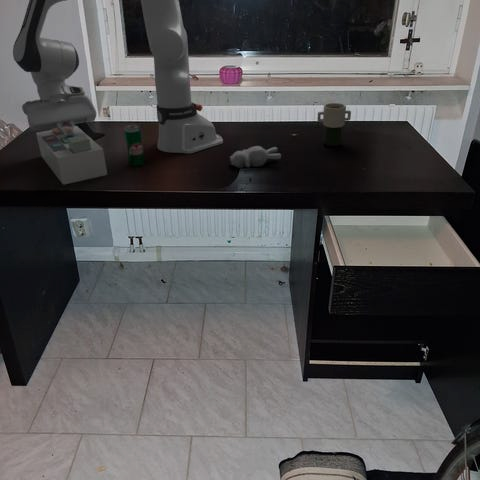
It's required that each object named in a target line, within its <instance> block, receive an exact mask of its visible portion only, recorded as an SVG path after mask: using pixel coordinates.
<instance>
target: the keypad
mask: <svg viewBox="0 0 480 480" xmlns="http://www.w3.org/2000/svg"><path fill="white" fill-rule="evenodd" d="M70 128H71V127H70ZM74 133H75V135H78V136H82V135H85V136H86V137H87V138H88V139H89V140H90V145H91V150H89V151H84V152H79V153H74V154H73V153H72V152H71V151H70V149H69V144H64V143H63V142H62V141H61V138H62V137H64V135H63V134H62V135H57V136H56V135H55V134H54V133H53V129H49V130H45V131H40V132H36V133H35V135H36V138H37V143H38V148H39V151H40V155H41V156H40V157H41V158H42V159H43V160H44V161H45V163H46V164H47V165H48V167H49V168H50V169H51V171H52V172H53V173H54V175H55V176H56V177H57V179H58V180H59V182H61V184H62V185H67V184H73V183H77V182H82V181H85V180H91V179H95V178H99V177H104V176H107V175H108V171H107V164H106V159H105V153H104V148H102V146H101V145H100V144H98V143H97V142H96V141H93V140H92V139H91V138H90V137H89V136H88V135H87V134H85V133H84V132H83V131H82V130H81V129H80V128H79V127H77V126H74Z"/></svg>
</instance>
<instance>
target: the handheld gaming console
mask: <svg viewBox="0 0 480 480" xmlns="http://www.w3.org/2000/svg"><path fill="white" fill-rule="evenodd" d="M66 126H69V125H66ZM74 126H77V127H79V128H80V129H81V130H82V131H83V132H84V133H85V134H87V135H88V136H89V137H90V138H91V139H92V140H93V141H94V142H96V141H97V140H99V139H101V138H103V137H104V136H105V135H106V134H105V133H102V132H96V131H95V132H94V131H93V130H92V128H91V127H90V126H89V124H88V122H83V123H78V124H75V125H74ZM63 127H65V126H63Z"/></svg>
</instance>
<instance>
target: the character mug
mask: <svg viewBox="0 0 480 480" xmlns="http://www.w3.org/2000/svg"><path fill="white" fill-rule="evenodd" d="M346 114H347V117H346ZM351 115H352V111H351V110H347V105H346V104H344V103H340V102H339V103H337V102H331V103H330V102H329V103H326V104H323V111H319V112H317V118H316V119H317V122H318V123H323V126H325V129H324V135H323V140H322V142H323V143H322V144H325V145H327V146H331V147H337V146H340V145H342V143H343V141H342V140H343V137H342V127H343V126H345V123H346V121H347V122H348V121H350V120H351ZM321 116H323V117H322V118H321Z"/></svg>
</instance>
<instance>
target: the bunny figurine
mask: <svg viewBox="0 0 480 480" xmlns="http://www.w3.org/2000/svg"><path fill="white" fill-rule="evenodd" d="M229 159H230V164H231V166H235V167H236V168H240V169H241V168H245V167H246V168H250V167H260V166H261V167H263V166H264V165H265V164H266V162H267V160H281V159H282V154H281V153H278V147H276V146H274V147H270V148H269V149H265V148H263V147H262V146H260V145H255V146H251V147H249V148H248V149H242V150H236V151H235V152H233V154H232V155H231V156H229Z"/></svg>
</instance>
